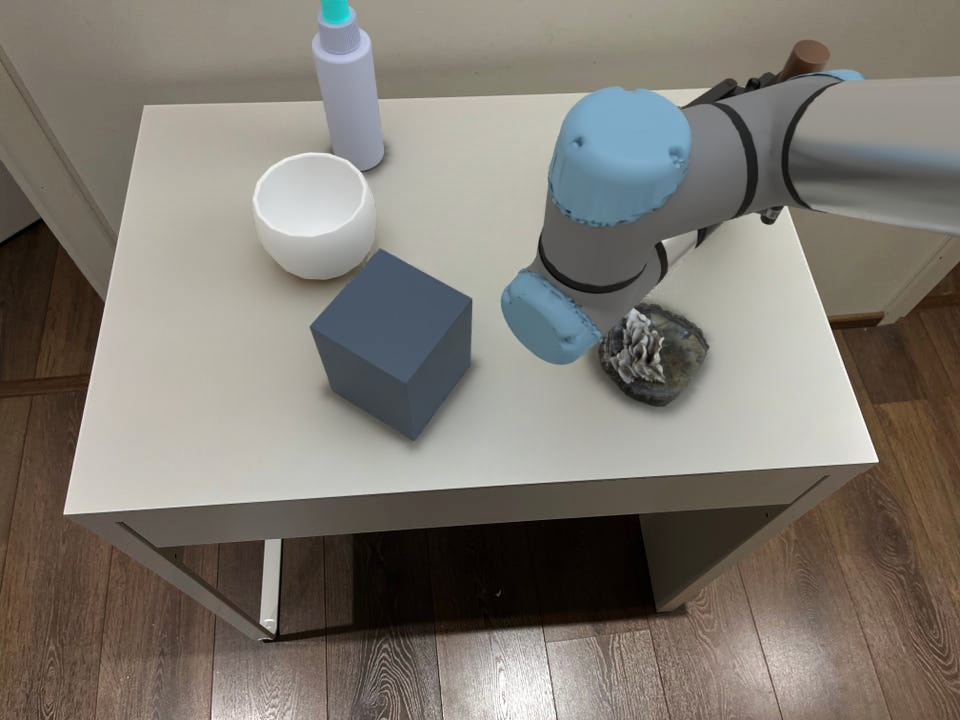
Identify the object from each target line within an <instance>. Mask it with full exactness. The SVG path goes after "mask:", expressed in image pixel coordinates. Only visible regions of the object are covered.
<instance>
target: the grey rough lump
mask: <svg viewBox="0 0 960 720" xmlns="http://www.w3.org/2000/svg"><path fill="white" fill-rule="evenodd" d="M709 349H710V345H709V344H708V343H707V339H706V338H705V337H704V333H703V330H702V329H701V328H700V327H698V326H697V325H696V323H694V322H691V321H689V320H688V319H687V318H686V317H685V316H683V315H678V314H676V313H673V312H672V311H671V310H665V309H663V307H661V306H660V304H656V303H652V304H648V303H645V302H639V303H638V304H637V305H636V306H635V307H634V308H633V309H632V310H631V311H630V312H629V313H628V314H627V315H626V316H625V317H623V318H622V319H621V320H620V321H619V322H618V323H617V324H616V325H615V326H614V327H613V328H612V329H611V330H610V331H609V332H608V333H607V334H606V335H605V336H604V337H603V341H602V342H601V343H599V347H598V350H597V352H598V359H599V362H600V365H601V368H602V370H603V371H604V372H605V373H606V374H607V375H608V376H609V378H610V379H611V380H612V381H613V382H614V383H615V384H616V385H617V386H618V388H619V389H620V390H621V391H622V392H623V393H624V394H625V395H626V396H627V397H629V398H630V399H632V400H634V401H636V402H641V403H643V404H647V405H649V406H654V407H660V408H661V407H666V406H667V405H669V404H670V403H672V402H673V401H674V400H676V399H677V398H678V397H679V395H680V394H681V393H682V392H683V391H684V390H685V388H686V387H687V386H688V385H689V383H690V382H691V381H692V380H693V379H694V377H695V376H696V374H697V373H698V372H699V370H700V368H701V366H702V365H703V363H704V360H705V358H706V356H707V352H708V351H709Z"/></svg>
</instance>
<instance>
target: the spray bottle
mask: <svg viewBox="0 0 960 720" xmlns="http://www.w3.org/2000/svg"><path fill="white" fill-rule="evenodd" d="M320 6H321V8H320V9H319V10H318V11H317V14H316V22H317V28H318V32H317V33H316V34H315V35H314V37H313V38H312V41H311V51H312V52H311V53H312V56H313V62H314V67H315V71H316V76H317V81H318V85H319V90H320V94H321V99H322V104H323V108H324V109H323V110H324V113H325V118H326V123H327V127H328V132H329V133H328V134H329V137H330V138H329V139H330V143H331V147H332V152H333V155H335V156H337V157H340V158H343V159H345V160H348V161H349V162H350V163H351V164H352V165H354V166H355V167H356V168H357V169H358V170H359V171H360V172H363V171H364V172H365V171H368V170H370V169H373V168H375V167H376V166H377V165H379V164H380V163H381V162H382V160H383V158H384V155H385V144H384V136H383V129H382V120H381V113H380V104H379V103H380V102H379V96H378V88H377V79H376V73H375V64H374V56H373V48H372V40H371V38H370V36H369V34H368V33H367V32H366V31H365V30H363V29H362V28H360V27H359V22H358V19H357V18H358V17H357V13H356V11H355V9H354V8H353V7H352V6H350V5H349V3H348V0H320Z"/></svg>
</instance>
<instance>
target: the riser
mask: <svg viewBox="0 0 960 720" xmlns="http://www.w3.org/2000/svg"><path fill="white" fill-rule="evenodd" d="M473 300H474V299H473V298H472V297H470V296H468V295H466V294H465V293H464V292H461V291H459V290H458V289H456V288H454V287H452V286H451V285H448V284H447V283H445V282H442V281H441V280H439V279H438V278H435V277H434V276H432V275H430V274H428V273H426V271H425V272H424V271H423V270H421V269H419V268H417V267H416V266H414V265H412V264H409V263H408V262H406V261H404V260H402V259H401V258H399V257H397V256H395V255H394V254H391V252H390V253H389V252H388V251H386V250H384V249H383V248H381V247H379V248H378V249H377V251H375V253H374V254H373V255H372V256H371V257H370V259H369V260H368V261H367V262H366V263H365V264H364V265H363V266H362V267H361V268H360V270H358V272H357V273H356V274H355V275H354V276H353V277H352V278H351V279H350V281H349V282H348V283H347V284H346V285H345V286H344V287H343V289H341V291H340V292H339V293H338V294H337V295H336V296H335V297H334V299H333V300H332V301H331V302H330V303H329V304H328V305H327V306H326V307H325V308H324V310H323V311H322V312H320V314H319V315H318V316H317V317H316V318H315V319H314V321H313V322H312V323H311V324H310V325H309V330H310V332H311V336H312V338H313V341H314V344H315V346H316V350H317V352H318V355H319V358H320V360H321V363H322V366H323V369H324V372H325V375H326V377H327V380H328V383H329V386H330V388H331V391H333V392H334V393H335V394H337V395H339V396H340V397H342V398H344V399H346V400H347V401H349V402H350V403H352V404H353V405H355V406H357V407H358V408H360V409H362V410H363V411H364V412H366V413H368V414H370V415H372V416H374V417H375V418H376V419H377V420H379V421H382V422H383V423H384V424H386V425H388V426H389V427H391V428H392V429H394V430H395V431H397V432H399V433H401V434H402V435H404V436H406V437H407V438H408V439H410V440H412V441H416V440H417V438H418V437H419V436H420V434H421V433H422V431H423V430H424V428H425V427H426V426H427V425H428V423H429V422H430V421H431V419H432V418H433V416H434V415H435V414H436V413H437V411H438V410H439V408H440V407H441V406H442V404H443V403H444V402H445V400H446V399H447V397H448V396H449V395H450V394H451V392H452V391H453V389H455V387H456V385H457V384H458V383H459V381H460V380H461V379H462V377H463V376H464V374H465V373H466V372H467V371H468V369H469V368H470V366H471V365H472V364H471V363H472V332H473V331H472V329H473V303H474V302H473Z"/></svg>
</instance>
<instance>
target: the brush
mask: <svg viewBox="0 0 960 720" xmlns="http://www.w3.org/2000/svg"><path fill="white" fill-rule="evenodd" d="M830 59H831V51H830V49H829V47H827V46H826V45H825V43H822V42H820V41H817V40H814V39H800V40H799V41H797V42H796V43H794V45H793V46H792V49H791V50H790V53H789V55H788V57H787V59H786V62H785V63H784V66H783V68H782V70H781V71H782V72H781V74H780V76H779V78H778V80H777V82H776V84H779V83H782V82H785V81H787V80H788V79H790V78H792V77H795V76H799V75H805V74H810V73H818V72H824V70H825V68H826V66H827V64H828V62H829V61H830ZM776 84H775V85H776Z"/></svg>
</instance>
